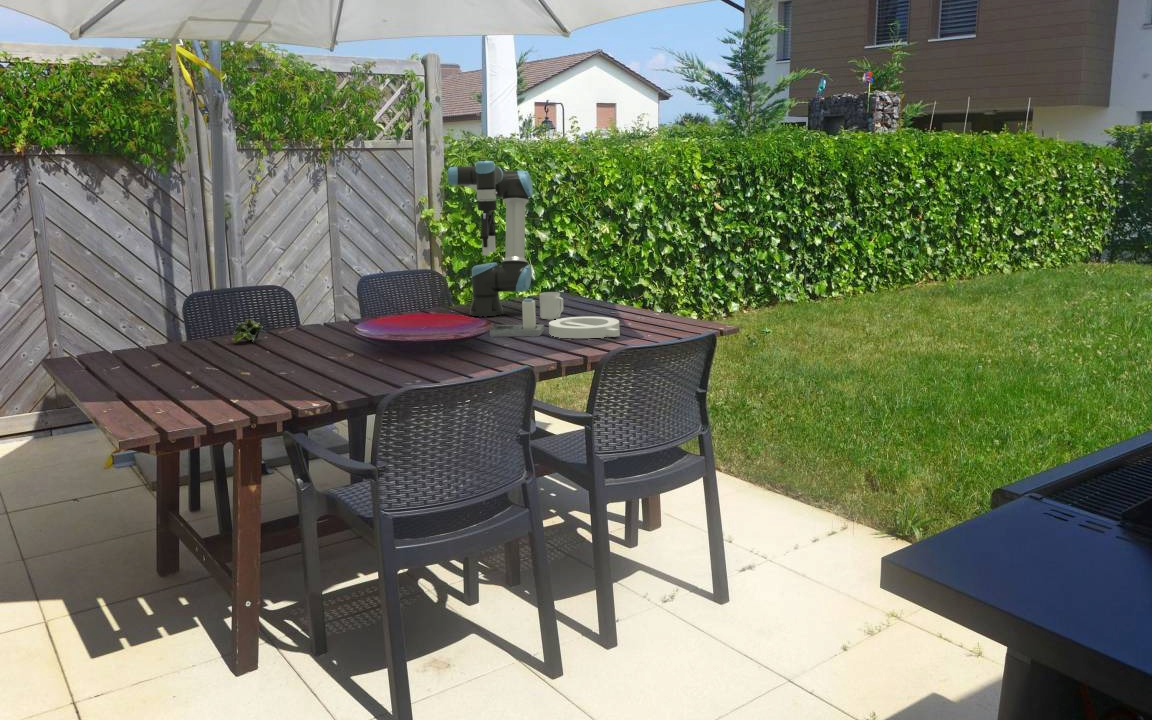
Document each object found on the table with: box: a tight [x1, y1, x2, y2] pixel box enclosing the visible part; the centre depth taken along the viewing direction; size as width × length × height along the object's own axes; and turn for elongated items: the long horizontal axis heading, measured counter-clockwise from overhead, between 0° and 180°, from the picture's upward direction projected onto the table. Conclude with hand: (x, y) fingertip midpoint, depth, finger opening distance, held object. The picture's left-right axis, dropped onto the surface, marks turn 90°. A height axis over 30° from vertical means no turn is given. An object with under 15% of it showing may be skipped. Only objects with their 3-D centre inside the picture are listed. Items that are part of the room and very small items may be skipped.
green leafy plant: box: [232, 318, 266, 343], centre depth 371 cm, size 11×11×12 cm
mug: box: [538, 291, 564, 321], centre depth 407 cm, size 12×9×11 cm
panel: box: [489, 323, 545, 338], centre depth 375 cm, size 13×20×2 cm, turn 84°
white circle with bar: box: [548, 316, 621, 339], centre depth 372 cm, size 28×28×5 cm
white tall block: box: [521, 298, 537, 329], centre depth 373 cm, size 4×4×14 cm
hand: (489, 253), depth 378 cm, fingers open, 13 cm apart
